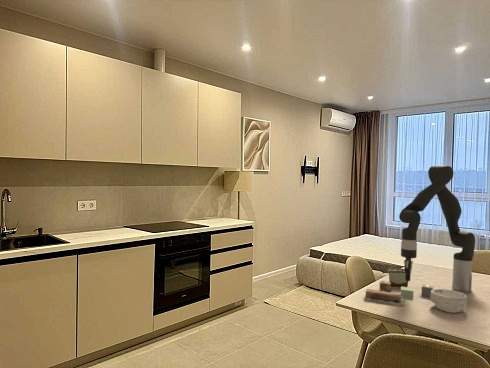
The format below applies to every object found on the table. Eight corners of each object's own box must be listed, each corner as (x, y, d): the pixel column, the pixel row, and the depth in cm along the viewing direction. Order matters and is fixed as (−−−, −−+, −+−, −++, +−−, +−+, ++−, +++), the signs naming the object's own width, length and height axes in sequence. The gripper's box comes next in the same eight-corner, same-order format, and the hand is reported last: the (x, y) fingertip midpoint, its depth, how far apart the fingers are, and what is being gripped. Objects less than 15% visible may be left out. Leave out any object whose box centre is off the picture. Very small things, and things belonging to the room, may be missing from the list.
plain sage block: (413, 295, 189) (413, 288, 189) (413, 299, 184) (413, 291, 184) (400, 293, 192) (401, 286, 192) (400, 297, 186) (400, 289, 186)
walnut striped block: (390, 291, 195) (391, 282, 195) (389, 293, 191) (389, 284, 191) (381, 289, 198) (381, 280, 198) (379, 291, 194) (379, 282, 193)
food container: (406, 285, 208) (406, 268, 208) (409, 288, 202) (410, 271, 201) (384, 284, 209) (385, 267, 209) (387, 287, 203) (388, 269, 203)
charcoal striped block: (432, 295, 191) (433, 285, 191) (432, 297, 187) (432, 288, 187) (422, 293, 194) (422, 284, 194) (421, 295, 189) (421, 286, 189)
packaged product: (364, 291, 178) (366, 286, 187) (364, 301, 178) (365, 295, 187) (404, 297, 171) (403, 292, 180) (403, 307, 171) (403, 301, 180)
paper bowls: (433, 301, 180) (434, 286, 180) (468, 309, 171) (469, 293, 171) (426, 309, 169) (427, 292, 168) (463, 318, 159) (464, 300, 159)
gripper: (415, 250, 180) (414, 285, 180) (417, 246, 191) (416, 278, 192) (399, 249, 184) (398, 282, 184) (402, 245, 195) (401, 276, 196)
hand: (407, 280), depth 188 cm, fingers closed
